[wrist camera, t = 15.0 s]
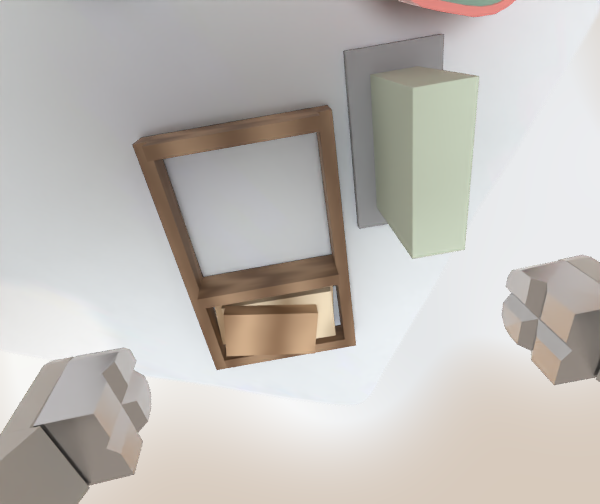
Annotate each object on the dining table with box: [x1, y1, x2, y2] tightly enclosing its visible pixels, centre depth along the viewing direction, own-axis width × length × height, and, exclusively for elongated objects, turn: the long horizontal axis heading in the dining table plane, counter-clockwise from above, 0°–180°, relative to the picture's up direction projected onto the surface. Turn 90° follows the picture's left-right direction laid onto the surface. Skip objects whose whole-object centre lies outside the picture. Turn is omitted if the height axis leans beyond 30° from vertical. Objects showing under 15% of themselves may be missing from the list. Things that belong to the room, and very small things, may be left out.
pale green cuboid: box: [370, 66, 479, 259], centre depth 29 cm, size 4×12×10 cm, turn 9°
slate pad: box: [344, 34, 444, 229], centre depth 34 cm, size 8×16×1 cm, turn 9°
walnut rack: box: [133, 105, 356, 370], centre depth 37 cm, size 16×26×4 cm, turn 9°
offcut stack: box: [215, 286, 336, 356], centre depth 41 cm, size 13×7×4 cm, turn 94°
